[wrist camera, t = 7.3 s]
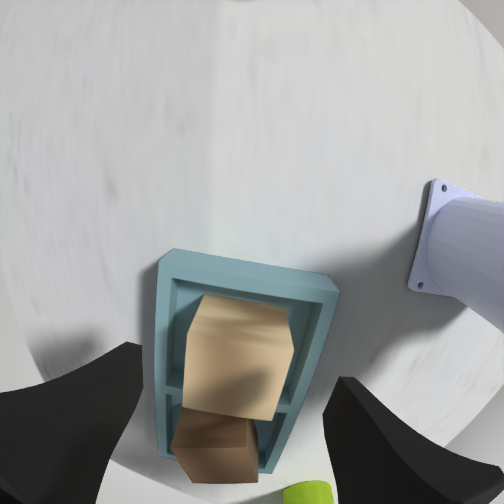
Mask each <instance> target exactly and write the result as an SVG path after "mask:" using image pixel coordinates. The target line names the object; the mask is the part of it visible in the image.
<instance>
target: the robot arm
mask: <svg viewBox="0 0 504 504" xmlns="http://www.w3.org/2000/svg"><path fill="white" fill-rule="evenodd" d="M442 185H443V186H444V190H443V191H442V188H441V187H442ZM420 282H421V285H420V286H419V287H418V284H419V283H420ZM408 288H409V289H410V290H412V291H416V292H423V293H429V294H436V295H443V296H450V297H455V298H456V299H457V300H459V301H460V302H462V303H463V304H465V305H466V306H468V307H469V308H470V309H472V310H473V311H475V312H476V313H477V314H479V315H480V316H482V317H483V318H484V319H486V320H487V321H488V322H490V323H491V324H492V325H494V326H495V327H496V328H498V329H499V330H500V331H502V332H503V333H504V203H502V202H497V201H491V200H487V199H485V198H483V197H480V196H478V195H476V194H474V193H472V192H469V191H467V190H465V189H462V188H460V187H458V186H455V185H453V184H451V183H448V182H446V181H443V180H441V179H434V180H433V181H432V183H431V187H430V193H429V198H428V204H427V209H426V214H425V219H424V223H423V228H422V232H421V236H420V240H419V244H418V248H417V252H416V256H415V259H414V263H413V267H412V270H411V273H410V277H409V280H408ZM142 389H143V368H142V345H138V344H134V343H130V342H125V343H123V344H121V345H120V346H118V347H116V348H115V349H113V350H111V351H109V352H108V353H106V354H104V355H103V356H101V357H99V358H97V359H95V360H94V361H92V362H90V363H88V364H86V365H84V366H82V367H80V368H78V369H76V370H74V371H72V372H70V373H68V374H66V375H64V376H61V377H59V378H56V379H54V380H51V381H48V382H45V383H42V384H39V385H36V386H32V387H27V388H24V389H19V390H15V391H9V392H2V393H0V504H95V503H96V499H97V495H98V492H99V489H100V485H101V482H102V479H103V476H104V473H105V470H106V467H107V464H108V462H109V459H110V457H111V455H112V452H113V450H114V448H115V446H116V445H117V443H118V441H119V439H120V437H121V435H122V433H123V431H124V429H125V428H126V426H127V424H128V422H129V420H130V418H131V416H132V414H133V412H134V410H135V408H136V406H137V403H138V400H139V398H140V395H141V392H142ZM323 426H324V435H325V440H326V444H327V448H328V453H329V457H330V461H331V465H332V469H333V473H334V477H335V481H336V486H337V493H338V503H339V504H489V503H490V502H491V501H492V500H493V499H494V498H496V497H497V496H498V495H499V494H500V493H501V492H502V491H503V490H504V473H503V472H502V470H501V468H500V467H499V466H495V465H490V464H486V463H482V462H478V461H474V460H471V459H469V458H466V457H463V456H460V455H458V454H456V453H453V452H451V451H449V450H447V449H445V448H443V447H441V446H439V445H437V444H435V443H434V442H432V441H430V440H428V439H427V438H425V437H424V436H422V435H421V434H419V433H418V432H416V431H415V430H413V429H412V428H411V427H409V426H408V425H407V424H406V423H404V422H403V421H402V420H401V419H399V418H398V417H397V416H396V415H395V414H393V413H392V412H391V411H390V410H389V409H388V408H387V407H386V406H385V405H383V404H382V403H381V402H380V401H379V400H378V399H377V398H376V397H375V396H374V395H373V394H372V393H371V392H370V391H369V390H368V389H367V388H366V387H364V386H363V385H362V384H361V383H360V382H359V381H358V380H357V379H356V378H354V377H340V376H339V378H338V381H337V383H336V385H335V388H334V390H333V392H332V395H331V397H330V399H329V401H328V404H327V406H326V408H325V410H324V412H323Z"/></svg>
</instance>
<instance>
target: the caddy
mask: <svg viewBox="0 0 504 504" xmlns="http://www.w3.org/2000/svg"><path fill="white" fill-rule="evenodd" d="M205 293H206V294H211V295H217V296H222V297H228V298H233V299H239V300H245V301H251V302H257V303H263V304H269V305H276V306H282V307H285V310H286V314H287V319H288V324H289V328H290V333H291V338H292V343H293V347H294V353H293V356H292V360H291V363H290V366H289V369H288V373H287V376H286V379H285V382H284V385H283V389H282V392H281V395H280V398H279V401H278V404H277V407H276V410H275V413H274V416H273V419H272V421H268V420H259V419H254V422H255V426H256V430H257V434H258V473H267V474H272V472H273V470H274V468H275V466H276V464H277V462H278V460H279V458H280V455H281V453H282V451H283V449H284V447H285V444H286V442H287V440H288V438H289V435H290V433H291V431H292V428H293V426H294V424H295V421H296V419H297V417H298V414H299V412H300V409H301V407H302V404H303V402H304V399H305V397H306V394H307V391H308V389H309V386H310V383H311V381H312V378H313V375H314V373H315V370H316V367H317V364H318V361H319V359H320V356H321V353H322V350H323V347H324V344H325V341H326V338H327V335H328V332H329V328H330V325H331V322H332V319H333V316H334V312H335V309H336V306H337V302H338V299H339V295H340V291H339V289H338V288H337V287H336V285H335V284H334V283H333V281H332V280H331V278H330V277H329V276H328V275H325V274H319V273H313V272H307V271H301V270H295V269H289V268H283V267H277V266H271V265H266V264H260V263H254V262H248V261H242V260H237V259H231V258H225V257H220V256H214V255H208V254H203V253H197V252H192V251H186V250H180V249H175V248H173V249H172V250H171V251H170V252H169V253H168V254H166V255H165V256H164V257H163V258H162V259H161V260H159V266H158V279H157V294H156V314H155V352H154V377H155V413H156V431H157V446H158V456H160V457H164V458H168V459H173V460H177V461H178V459H177V458H176V456H175V454H174V453H173V451H172V449H171V448H170V447H171V444H172V441H173V437H174V434H175V430H176V427H177V424H178V420H179V417H180V414H181V411H182V402H183V385H184V369H185V356H186V343H187V333H188V331H189V328H190V326H191V324H192V321H193V319H194V317H195V315H196V312H197V310H198V308H199V306H200V303H201V301H202V299H203V297H204V294H205Z"/></svg>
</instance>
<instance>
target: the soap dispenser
mask: <svg viewBox="0 0 504 504" xmlns="http://www.w3.org/2000/svg"><path fill="white" fill-rule="evenodd" d="M282 496H283V504H334V500H333V495H332V490H331V486H330V484H329V483H327V482H323V481H307V482H301V483H298V484H294V485H292V486H290V487H288V488H286V489H285V490H284V491H283V493H282Z"/></svg>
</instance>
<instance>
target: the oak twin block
mask: <svg viewBox="0 0 504 504" xmlns="http://www.w3.org/2000/svg"><path fill="white" fill-rule="evenodd" d="M293 353H294V347H293V343H292V338H291V333H290V328H289V324H288V319H287V314H286V310H285V307H282V306H276V305H269V304H263V303H257V302H251V301H245V300H239V299H233V298H228V297H222V296H217V295H211V294H206V293H205V294H204V297H203V299H202V301H201V303H200V306H199V308H198V310H197V312H196V315H195V317H194V319H193V321H192V324H191V326H190V328H189V331H188V333H187V343H186V356H185V369H184V385H183V402H182V407H185V408H190V409H195V410H200V411H205V412H210V413H216V414H222V415H229V416H235V417H242V418H250V419H259V420H268V421H272V419H273V416H274V413H275V410H276V407H277V404H278V401H279V398H280V395H281V392H282V389H283V385H284V382H285V379H286V376H287V373H288V369H289V366H290V363H291V360H292V356H293Z"/></svg>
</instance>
